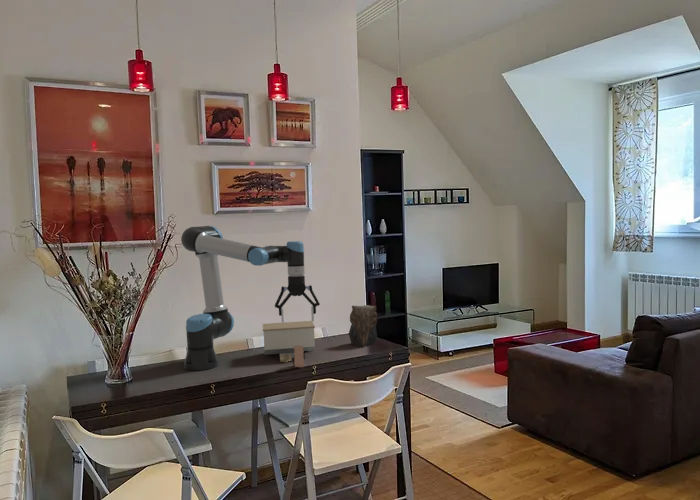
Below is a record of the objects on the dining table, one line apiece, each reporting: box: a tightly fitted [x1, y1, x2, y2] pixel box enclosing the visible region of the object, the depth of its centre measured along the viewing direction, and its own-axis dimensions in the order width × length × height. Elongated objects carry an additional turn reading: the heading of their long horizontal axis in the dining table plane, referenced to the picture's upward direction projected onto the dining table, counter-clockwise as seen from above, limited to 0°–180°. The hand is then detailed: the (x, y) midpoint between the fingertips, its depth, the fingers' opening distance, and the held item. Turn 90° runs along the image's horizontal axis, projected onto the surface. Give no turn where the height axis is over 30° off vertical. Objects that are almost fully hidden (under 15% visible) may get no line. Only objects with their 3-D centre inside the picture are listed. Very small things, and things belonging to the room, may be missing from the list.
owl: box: [348, 304, 378, 348], centre depth 284 cm, size 13×13×20 cm
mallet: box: [279, 345, 305, 368], centre depth 251 cm, size 10×17×9 cm, turn 9°
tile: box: [279, 355, 292, 363], centre depth 255 cm, size 5×5×2 cm
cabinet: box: [262, 320, 316, 355], centre depth 266 cm, size 25×15×15 cm, turn 99°
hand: (297, 321), depth 246 cm, fingers open, 13 cm apart
